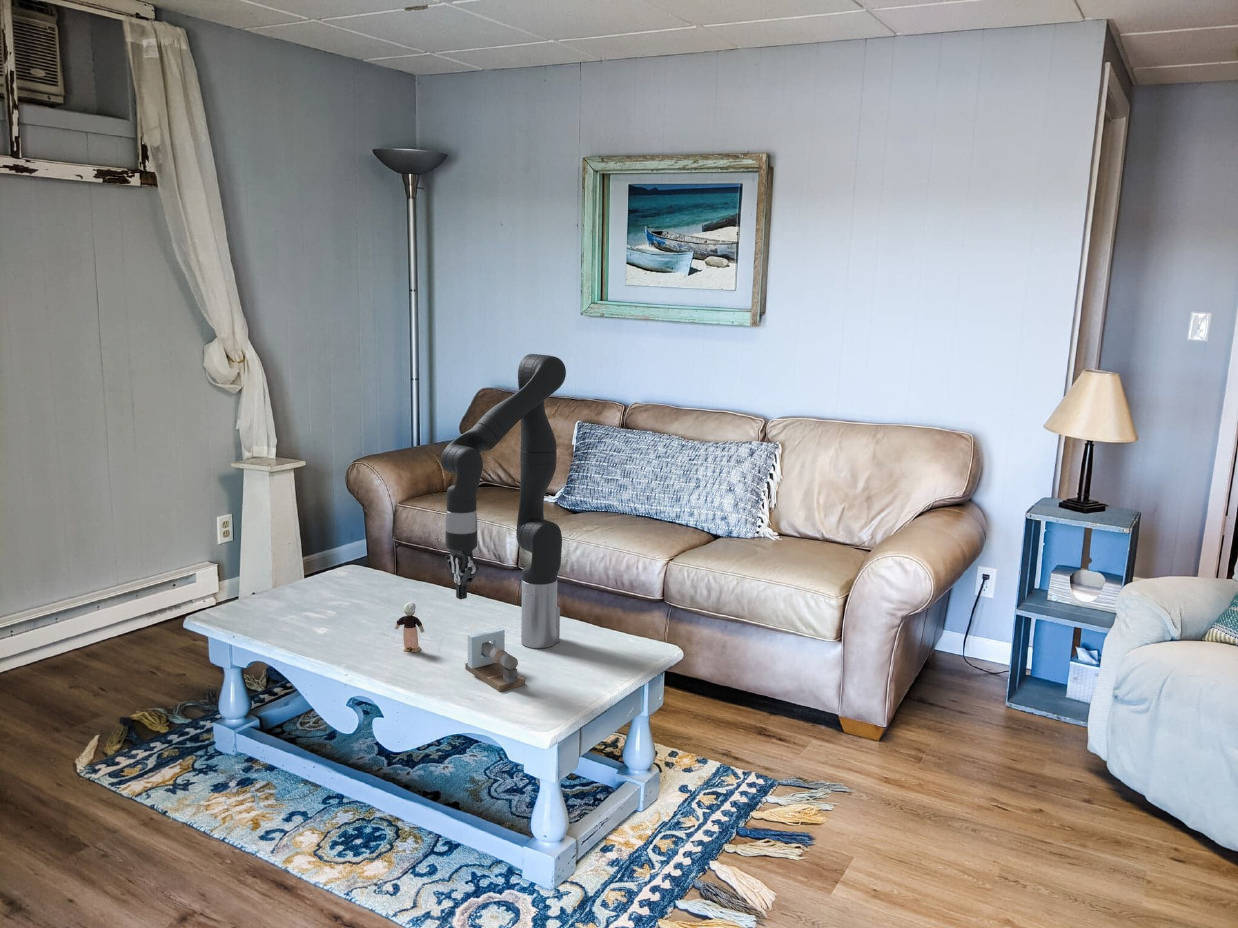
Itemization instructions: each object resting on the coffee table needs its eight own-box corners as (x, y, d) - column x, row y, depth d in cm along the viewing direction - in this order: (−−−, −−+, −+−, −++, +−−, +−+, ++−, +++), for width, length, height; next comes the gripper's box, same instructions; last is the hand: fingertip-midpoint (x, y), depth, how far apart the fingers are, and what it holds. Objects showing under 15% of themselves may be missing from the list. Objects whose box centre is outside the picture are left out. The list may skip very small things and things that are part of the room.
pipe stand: (490, 662, 234) (490, 633, 232) (525, 684, 221) (525, 654, 220) (464, 668, 230) (464, 639, 228) (499, 691, 217) (499, 660, 216)
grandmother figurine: (426, 647, 243) (425, 600, 241) (423, 652, 239) (423, 604, 237) (396, 646, 243) (395, 599, 240) (393, 652, 239) (392, 604, 237)
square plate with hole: (500, 657, 232) (500, 627, 230) (504, 660, 230) (504, 629, 229) (467, 665, 226) (467, 634, 225) (471, 668, 225) (471, 637, 223)
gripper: (489, 532, 222) (488, 602, 225) (462, 520, 232) (462, 588, 235) (460, 536, 217) (460, 608, 221) (434, 524, 228) (434, 593, 231)
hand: (461, 598), depth 228 cm, fingers closed
